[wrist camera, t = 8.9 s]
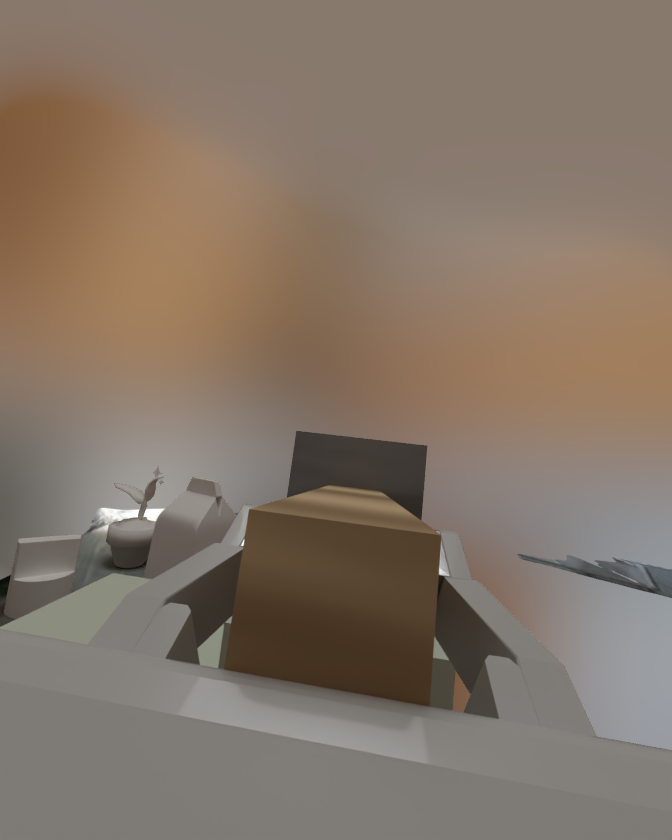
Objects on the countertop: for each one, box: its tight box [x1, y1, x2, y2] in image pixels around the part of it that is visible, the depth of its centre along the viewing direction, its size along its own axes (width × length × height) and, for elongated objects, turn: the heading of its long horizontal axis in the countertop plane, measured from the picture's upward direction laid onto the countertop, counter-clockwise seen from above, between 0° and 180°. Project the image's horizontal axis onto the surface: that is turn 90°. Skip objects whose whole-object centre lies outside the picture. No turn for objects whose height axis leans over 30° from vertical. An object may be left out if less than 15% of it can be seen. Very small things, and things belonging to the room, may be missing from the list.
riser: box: [0, 573, 455, 710], centre depth 20 cm, size 12×24×26 cm, turn 86°
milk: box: [144, 477, 236, 579], centre depth 62 cm, size 12×12×26 cm
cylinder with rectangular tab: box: [4, 534, 81, 618], centre depth 61 cm, size 9×9×12 cm
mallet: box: [224, 431, 441, 707], centre depth 16 cm, size 21×8×6 cm, turn 176°
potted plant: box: [106, 468, 163, 568], centre depth 85 cm, size 13×12×25 cm
